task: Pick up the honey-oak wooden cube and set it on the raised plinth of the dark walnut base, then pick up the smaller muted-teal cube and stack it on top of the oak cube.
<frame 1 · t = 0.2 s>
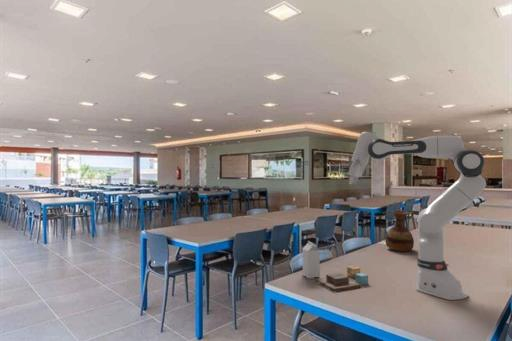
hand: (351, 184, 175), 51 cm above the table, tool tilted 20°, fingers open, 8 cm apart
milk carton: (311, 276, 176), on the table
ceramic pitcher: (399, 250, 241), on the table
oak cube: (353, 276, 176), on the table
walnut base: (337, 284, 162), on the table
teal cube: (361, 283, 164), on the table
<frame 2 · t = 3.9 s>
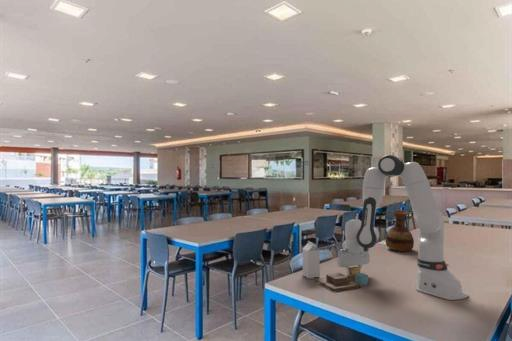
hand: (353, 273, 176), 2 cm above the table, tool pointing down, fingers closed on oak cube, 5 cm apart
oak cube: (353, 276, 176), on the table, touching gripper
everything else where it was.
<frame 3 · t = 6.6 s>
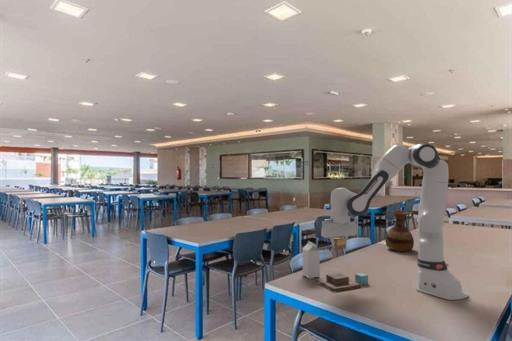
hand: (339, 245, 165), 20 cm above the table, tool pointing down, fingers closed on oak cube, 5 cm apart
oak cube: (339, 248, 165), point 18 cm above the table, touching gripper
everything else where it was.
when the fingers open (8 cm above the table, at t = 9.5 s): oak cube drops 1 cm, resting on walnut base.
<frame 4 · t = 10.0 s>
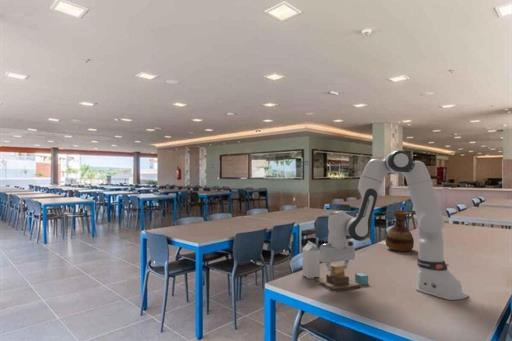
hand: (337, 269, 162), 8 cm above the table, tool pointing down, fingers open, 8 cm apart
oak cube: (337, 275, 162), point 4 cm above the table, touching walnut base
everything else where it was.
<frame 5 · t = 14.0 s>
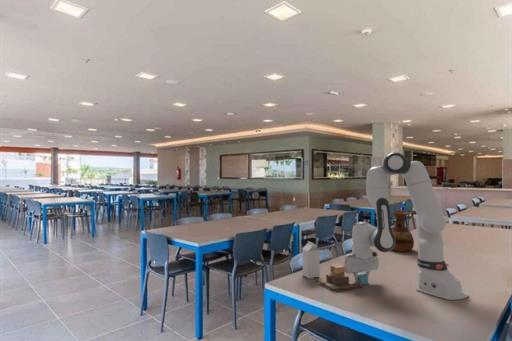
hand: (361, 279, 164), 2 cm above the table, tool pointing down, fingers closed on teal cube, 4 cm apart
teal cube: (361, 283, 164), on the table, touching gripper
everything else where it was.
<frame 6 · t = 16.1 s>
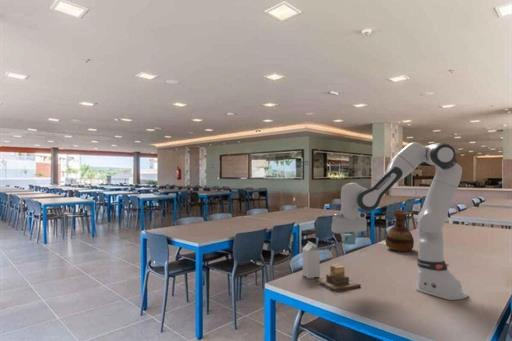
hand: (348, 240, 164), 22 cm above the table, tool pointing down, fingers closed on teal cube, 4 cm apart
teal cube: (348, 243, 164), point 21 cm above the table, touching gripper
everything else where it was.
when the fingers open (12 cm above the table, at t = 18.6 s): teal cube drops 1 cm, resting on oak cube.
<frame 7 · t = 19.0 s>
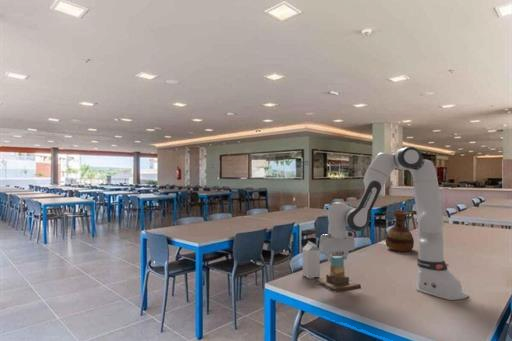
hand: (337, 260, 163), 12 cm above the table, tool pointing down, fingers open, 8 cm apart
oak cube: (337, 275, 162), point 4 cm above the table, touching teal cube, walnut base
teal cube: (337, 265, 163), point 9 cm above the table, touching oak cube
everything else where it was.
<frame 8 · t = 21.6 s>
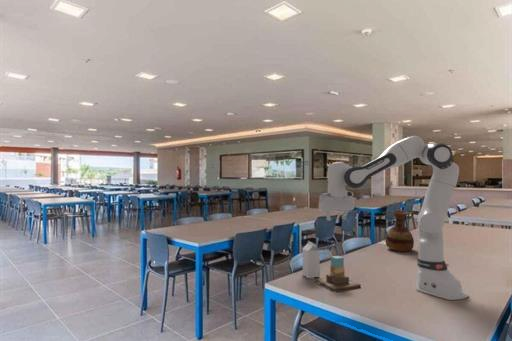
hand: (336, 219, 163), 33 cm above the table, tool pointing down, fingers open, 8 cm apart
nothing on the table moved.
at the end: oak cube 0.1 cm off-centre on the walnut base, point 4.5 cm above the walnut base's base; teal cube 0.1 cm off-centre on the walnut base, point 9.5 cm above the walnut base's base; teal cube tilted 0° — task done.
